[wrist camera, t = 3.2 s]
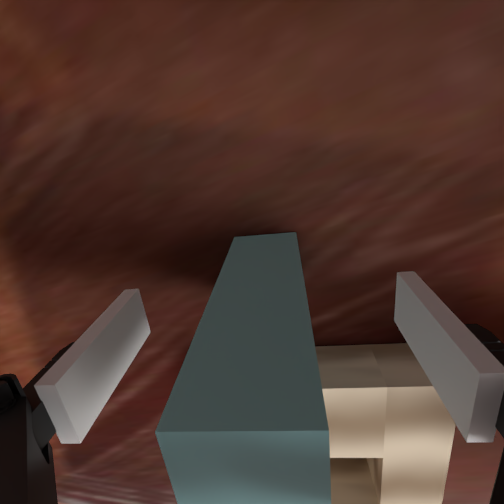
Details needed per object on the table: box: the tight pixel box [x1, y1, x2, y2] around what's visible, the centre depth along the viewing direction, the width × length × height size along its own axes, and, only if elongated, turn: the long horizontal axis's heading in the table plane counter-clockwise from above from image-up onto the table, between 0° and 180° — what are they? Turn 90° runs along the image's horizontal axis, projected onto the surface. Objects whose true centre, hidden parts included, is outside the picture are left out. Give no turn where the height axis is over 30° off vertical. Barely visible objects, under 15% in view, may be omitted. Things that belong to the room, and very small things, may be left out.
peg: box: [155, 232, 331, 504], centre depth 14 cm, size 4×4×14 cm
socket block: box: [315, 343, 456, 504], centre depth 24 cm, size 18×14×4 cm
